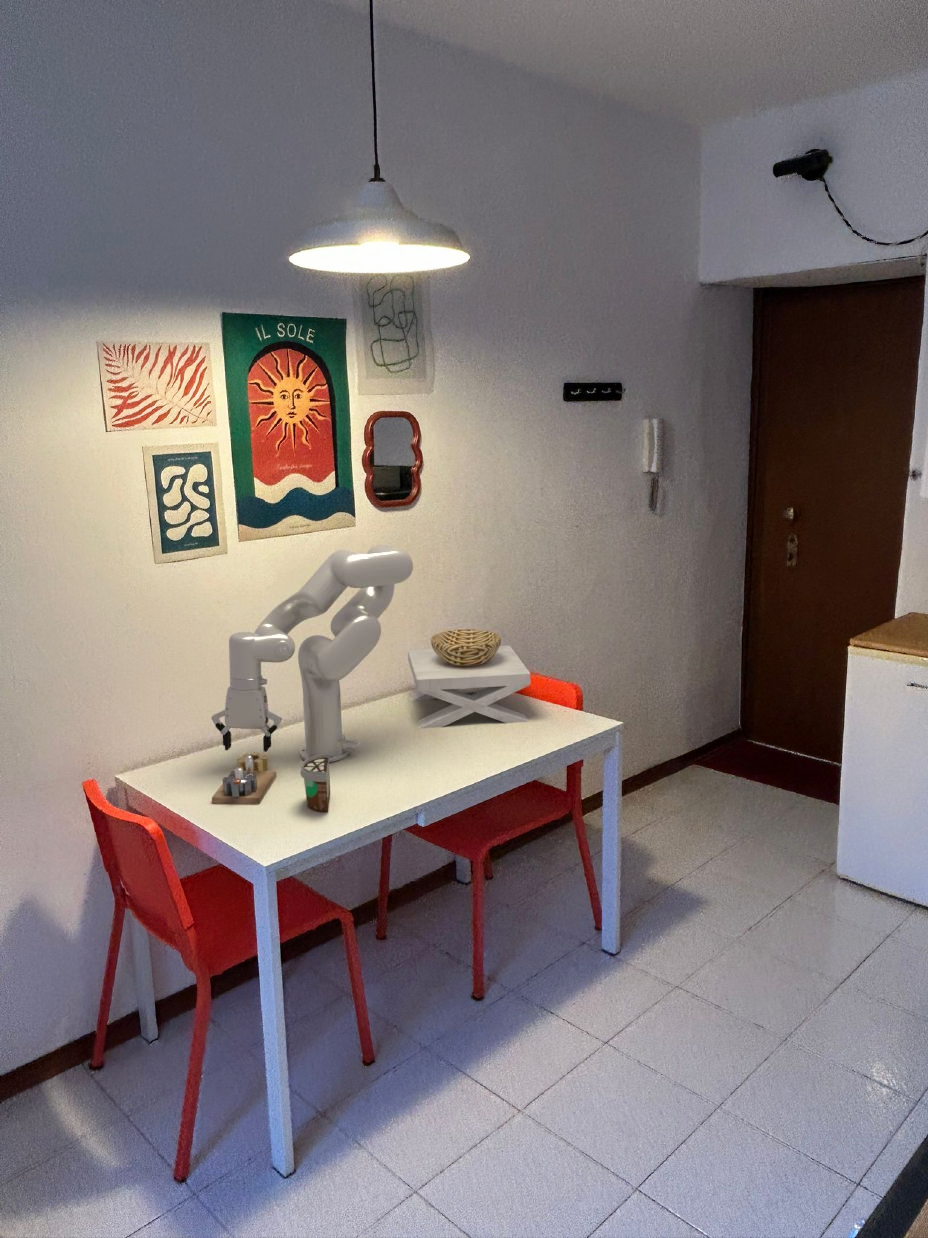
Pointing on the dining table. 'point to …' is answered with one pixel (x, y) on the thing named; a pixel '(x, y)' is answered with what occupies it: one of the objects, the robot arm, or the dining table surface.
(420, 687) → the stand with wicker basket
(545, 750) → the dining table surface
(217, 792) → the gear board
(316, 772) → the food container
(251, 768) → the peg
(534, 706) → the dining table surface
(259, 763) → the wooden gear
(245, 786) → the gear
